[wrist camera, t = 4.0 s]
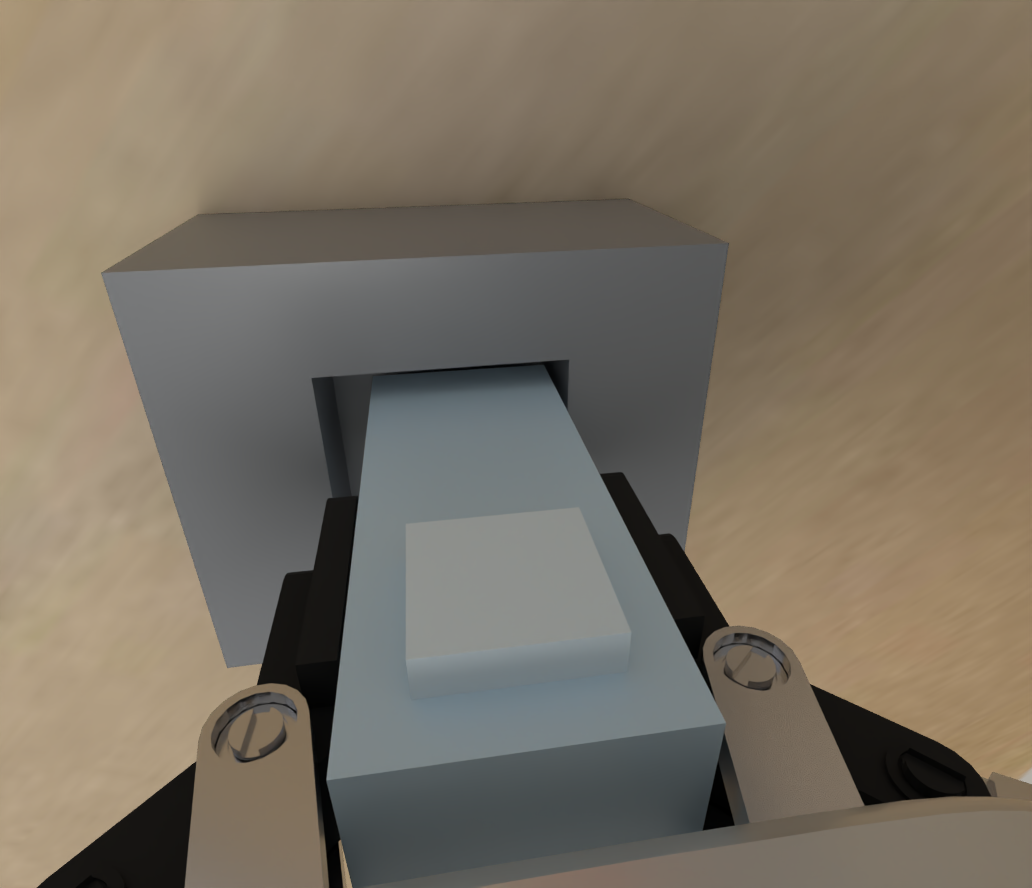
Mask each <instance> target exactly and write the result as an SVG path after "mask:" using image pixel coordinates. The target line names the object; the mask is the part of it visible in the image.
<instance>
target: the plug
mask: <svg viewBox="0 0 1032 888" xmlns="http://www.w3.org/2000/svg"><path fill="white" fill-rule="evenodd" d="M725 726H726V722H725V720H724V718H723V716H722V714H721V712H720V710H719V708H718V706H717V704H716V702H715V700H714V698H713V696H712V694H711V692H710V690H709V688H708V686H707V684H706V682H705V680H704V678H703V676H702V674H701V673H700V671H699V669H698V667H697V665H696V663H695V661H694V659H693V657H692V655H691V653H690V651H689V649H688V647H687V645H686V643H685V641H684V639H683V637H682V635H681V633H680V631H679V629H678V627H677V625H676V623H675V621H674V619H673V618H672V616H671V614H670V612H669V610H668V608H667V606H666V604H665V602H664V600H663V598H662V596H661V594H660V592H659V590H658V588H657V586H656V584H655V582H654V580H653V578H652V576H651V574H650V572H649V570H648V568H647V566H646V564H645V563H644V561H643V559H642V557H641V555H640V553H639V551H638V549H637V547H636V545H635V543H634V541H633V539H632V537H631V535H630V533H629V531H628V529H627V527H626V525H625V523H624V521H623V519H622V517H621V515H620V513H619V511H618V509H617V508H616V506H615V504H614V502H613V500H612V498H611V496H610V494H609V492H608V490H607V488H606V486H605V484H604V482H603V480H602V478H601V476H600V474H599V472H598V470H597V468H596V466H595V464H594V462H593V460H592V458H591V456H590V454H589V453H588V451H587V449H586V447H585V445H584V443H583V441H582V439H581V437H580V435H579V433H578V431H577V429H576V427H575V425H574V423H573V421H572V419H571V417H570V415H569V413H568V411H567V409H566V407H565V405H564V403H563V401H562V399H561V398H560V396H559V394H558V392H557V390H556V388H555V386H554V384H553V382H552V380H551V378H550V376H549V374H548V372H547V370H546V368H545V366H544V365H533V366H518V367H503V368H488V369H473V370H458V371H443V372H428V373H413V374H398V375H383V376H373V380H372V388H371V397H370V406H369V414H368V423H367V432H366V440H365V449H364V458H363V466H362V475H361V484H360V493H359V501H358V510H357V519H356V527H355V536H354V545H353V553H352V562H351V571H350V579H349V588H348V597H347V605H346V614H345V623H344V631H343V640H342V649H341V657H340V666H339V675H338V684H337V692H336V701H335V710H334V718H333V727H332V736H331V744H330V753H329V762H328V770H327V779H326V781H327V785H328V789H329V793H330V797H331V801H332V806H333V810H334V814H335V818H336V822H337V826H338V830H339V834H340V838H341V842H342V846H343V850H344V854H345V859H346V863H347V867H348V871H349V875H350V879H351V883H352V887H353V888H361V887H367V886H373V885H379V884H385V883H391V882H396V881H402V880H408V879H414V878H420V877H426V876H431V875H437V874H443V873H449V872H455V871H461V870H467V869H473V868H479V867H485V866H491V865H497V864H503V863H509V862H515V861H521V860H527V859H533V858H539V857H545V856H551V855H557V854H563V853H569V852H575V851H581V850H587V849H593V848H599V847H606V846H612V845H618V844H624V843H630V842H636V841H642V840H648V839H654V838H660V837H667V836H673V835H679V834H685V833H692V832H698V831H702V830H703V826H704V821H705V817H706V812H707V808H708V803H709V799H710V794H711V790H712V785H713V781H714V776H715V771H716V767H717V762H718V758H719V753H720V749H721V744H722V740H723V735H724V731H725Z"/></svg>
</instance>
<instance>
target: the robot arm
mask: <svg viewBox="0 0 1032 888" xmlns="http://www.w3.org/2000/svg"><path fill="white" fill-rule="evenodd" d="M600 476H601V478H602V480H603V482H604V484H605V486H606V488H607V490H608V492H609V494H610V496H611V498H612V500H613V502H614V504H615V506H616V508H617V509H618V511H619V513H620V515H621V517H622V519H623V521H624V523H625V525H626V527H627V529H628V531H629V533H630V535H631V537H632V539H633V541H634V543H635V545H636V547H637V549H638V551H639V553H640V555H641V557H642V559H643V561H644V563H645V564H646V566H647V568H648V570H649V572H650V574H651V576H652V578H653V580H654V582H655V584H656V586H657V588H658V590H659V592H660V594H661V596H662V598H663V600H664V602H665V604H666V606H667V608H668V610H669V612H670V614H671V616H672V618H673V619H674V621H675V623H676V625H677V627H678V629H679V631H680V633H681V635H682V637H683V639H684V641H685V643H686V645H687V647H688V649H689V651H690V653H691V655H692V657H693V659H694V661H695V663H696V665H697V667H698V669H699V671H700V673H701V674H702V676H703V678H704V680H705V682H706V684H707V686H708V688H709V690H710V692H711V694H712V696H713V698H714V700H715V702H716V704H717V706H718V708H719V710H720V712H721V714H722V716H723V718H724V720H725V722H726V726H725V731H724V735H723V740H722V744H721V749H720V753H719V758H718V762H717V767H716V771H715V776H714V781H713V785H712V790H711V794H710V799H709V803H708V808H707V812H706V817H705V821H704V826H703V830H702V831H698V832H692V833H685V834H679V835H673V836H667V837H660V838H654V839H648V840H642V841H636V842H630V843H624V844H618V845H612V846H606V847H599V848H593V849H587V850H581V851H575V852H569V853H563V854H557V855H551V856H545V857H539V858H533V859H527V860H521V861H515V862H509V863H503V864H497V865H491V866H485V867H479V868H473V869H467V870H461V871H455V872H449V873H443V874H437V875H431V876H426V877H420V878H414V879H408V880H402V881H396V882H391V883H385V884H379V885H373V886H367V887H361V888H1032V784H1029V783H1026V782H1022V781H1019V780H1016V779H1013V778H1010V777H1007V776H1004V775H1001V774H998V773H995V772H992V774H991V775H990V777H989V779H986V778H983V777H980V775H979V774H978V773H977V772H976V771H975V769H974V768H973V767H972V766H971V765H970V764H969V763H968V762H967V761H965V760H964V759H963V758H962V757H960V756H959V755H958V754H957V753H956V752H954V751H952V750H951V749H949V748H947V747H945V746H944V745H942V744H940V743H938V742H936V741H934V740H932V739H930V738H928V737H925V736H923V735H921V734H919V733H917V732H914V731H912V730H910V729H908V728H906V727H903V726H901V725H899V724H897V723H895V722H892V721H890V720H888V719H886V718H884V717H881V716H879V715H877V714H875V713H873V712H870V711H868V710H866V709H864V708H862V707H859V706H857V705H855V704H853V703H851V702H848V701H846V700H844V699H842V698H840V697H837V696H835V695H833V694H831V693H829V692H826V691H824V690H822V689H820V688H818V687H815V686H813V685H811V684H810V683H809V681H808V679H807V677H806V674H805V672H804V670H803V668H802V666H801V663H800V661H799V660H798V658H797V657H796V655H795V654H794V652H793V650H792V649H791V648H789V647H788V646H787V645H786V644H785V643H784V642H783V641H782V640H780V639H778V638H777V637H775V636H773V635H771V634H770V633H768V632H765V631H762V630H759V629H756V628H753V627H745V626H731V627H729V625H728V623H727V622H726V620H725V618H724V617H723V615H722V613H721V612H720V610H719V608H718V607H717V605H716V604H715V602H714V600H713V599H712V597H711V595H710V594H709V592H708V590H707V589H706V587H705V585H704V584H703V582H702V580H701V579H700V577H699V575H698V574H697V572H696V571H695V569H694V567H693V566H692V564H691V562H690V561H689V559H688V557H687V556H686V554H685V552H684V551H683V549H682V547H681V546H680V544H679V543H678V541H677V539H676V538H675V537H674V536H673V535H672V534H669V533H668V534H658V532H657V531H656V529H655V527H654V525H653V524H652V522H651V520H650V518H649V517H648V515H647V513H646V511H645V510H644V508H643V506H642V504H641V503H640V501H639V499H638V497H637V496H636V494H635V492H634V491H633V489H632V487H631V485H630V484H629V482H628V480H627V478H626V477H625V475H624V474H623V472H614V473H603V474H600ZM358 501H359V497H358V496H347V497H336V498H328V499H327V501H326V506H325V512H324V517H323V522H322V527H321V532H320V538H319V543H318V548H317V553H316V558H315V564H314V569H313V570H309V571H300V572H290V573H287V574H286V575H285V577H284V580H283V583H282V587H281V591H280V595H279V599H278V603H277V607H276V611H275V615H274V619H273V623H272V627H271V631H270V635H269V639H268V643H267V647H266V651H265V655H264V659H263V663H262V667H261V671H260V675H259V679H258V683H257V685H256V686H253V687H250V688H248V689H245V690H242V691H240V692H238V693H236V694H235V695H233V696H231V697H230V698H228V699H227V700H225V701H224V702H223V703H221V704H220V705H219V706H218V707H217V708H216V709H215V710H214V711H213V712H212V713H211V714H210V716H209V718H208V719H207V721H206V722H205V724H204V725H203V727H202V730H201V734H200V737H199V741H198V751H197V761H196V762H195V763H193V764H192V765H191V766H190V767H188V768H187V769H186V770H184V771H183V772H182V773H181V774H179V775H178V776H177V777H176V778H174V779H173V780H172V781H170V782H169V783H168V784H167V785H165V786H164V787H163V788H162V789H160V790H159V791H158V792H156V793H155V794H154V795H153V796H151V797H150V798H149V799H148V800H146V801H145V802H144V803H142V804H141V805H140V806H139V807H137V808H136V809H135V810H134V811H132V812H131V813H130V814H128V815H127V816H126V817H125V818H123V819H122V820H121V821H120V822H118V823H117V824H116V825H114V826H113V827H112V828H111V829H109V830H108V831H107V832H105V833H104V834H103V835H102V836H100V837H99V838H98V839H97V840H95V841H94V842H93V843H91V844H90V845H89V846H88V847H86V848H85V849H84V850H83V851H81V852H80V853H79V854H77V855H76V856H75V857H74V858H72V859H71V860H70V861H69V862H67V863H66V864H65V865H63V866H62V867H61V868H60V869H58V870H57V871H56V872H55V873H53V874H52V875H51V876H49V877H48V878H47V879H46V880H45V881H44V882H42V883H41V884H40V885H39V886H38V887H37V888H347V887H346V878H345V869H344V860H343V851H342V842H341V838H340V834H339V830H338V826H337V822H336V818H335V814H334V810H333V806H332V801H331V797H330V793H329V789H328V785H327V781H326V779H327V770H328V762H329V753H330V744H331V736H332V727H333V718H334V710H335V701H336V692H337V684H338V675H339V666H340V657H341V649H342V640H343V631H344V623H345V614H346V605H347V597H348V588H349V579H350V571H351V562H352V553H353V545H354V536H355V527H356V519H357V510H358Z"/></svg>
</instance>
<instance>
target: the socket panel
mask: <svg viewBox="0 0 1032 888" xmlns="http://www.w3.org/2000/svg"><path fill="white" fill-rule="evenodd" d="M728 245H729V243H727V242H725V241H723V240H721V239H718V238H716V237H714V236H711V235H709V234H707V233H705V232H702V231H700V230H698V229H696V228H693V227H691V226H689V225H687V224H684V223H682V222H680V221H678V220H675V219H673V218H671V217H669V216H666V215H664V214H662V213H659V212H657V211H655V210H653V209H650V208H648V207H646V206H644V205H641V204H639V203H637V202H635V201H632V200H630V199H614V200H587V201H559V202H532V203H504V204H477V205H449V206H422V207H395V208H367V209H340V210H312V211H285V212H257V213H230V214H202V215H196V216H195V217H193V218H191V219H190V220H188V221H186V222H185V223H183V224H181V225H180V226H178V227H176V228H175V229H173V230H171V231H170V232H168V233H166V234H165V235H163V236H161V237H160V238H158V239H157V240H155V241H153V242H152V243H150V244H148V245H147V246H145V247H143V248H142V249H140V250H138V251H137V252H135V253H133V254H132V255H130V256H128V257H127V258H125V259H123V260H122V261H120V262H118V263H117V264H115V265H113V266H112V267H110V268H108V269H107V270H105V271H104V272H102V273H101V274H102V277H103V280H104V283H105V286H106V290H107V293H108V296H109V299H110V302H111V305H112V308H113V311H114V315H115V318H116V321H117V324H118V327H119V330H120V333H121V337H122V340H123V343H124V346H125V349H126V352H127V355H128V358H129V362H130V365H131V368H132V371H133V374H134V377H135V380H136V384H137V387H138V390H139V393H140V396H141V399H142V402H143V405H144V409H145V412H146V415H147V418H148V421H149V424H150V427H151V430H152V434H153V437H154V440H155V443H156V446H157V449H158V452H159V456H160V459H161V462H162V465H163V468H164V471H165V474H166V477H167V481H168V484H169V487H170V490H171V493H172V496H173V499H174V503H175V506H176V509H177V512H178V515H179V518H180V521H181V524H182V528H183V531H184V534H185V537H186V540H187V543H188V546H189V550H190V553H191V556H192V559H193V562H194V565H195V568H196V571H197V575H198V578H199V581H200V584H201V587H202V590H203V593H204V597H205V600H206V603H207V606H208V609H209V612H210V615H211V618H212V622H213V625H214V628H215V631H216V634H217V637H218V640H219V643H220V647H221V650H222V653H223V656H224V659H225V662H226V665H227V668H230V667H238V666H246V665H253V664H261V663H263V659H264V655H265V651H266V647H267V643H268V639H269V635H270V631H271V627H272V623H273V619H274V615H275V611H276V607H277V603H278V599H279V595H280V591H281V587H282V583H283V580H284V577H285V575H286V574H287V573H290V572H300V571H309V570H313V569H314V564H315V558H316V553H317V548H318V543H319V538H320V532H321V527H322V522H323V517H324V512H325V506H326V501H327V499H328V498H336V497H347V496H358V497H359V493H360V484H361V475H362V466H363V458H364V449H365V440H366V432H367V423H368V414H369V406H370V397H371V388H372V380H373V376H383V375H398V374H413V373H428V372H443V371H458V370H473V369H488V368H503V367H518V366H533V365H544V366H545V368H546V370H547V372H548V374H549V376H550V378H551V380H552V382H553V384H554V386H555V388H556V390H557V392H558V394H559V396H560V398H561V399H562V401H563V403H564V405H565V407H566V409H567V411H568V413H569V415H570V417H571V419H572V421H573V423H574V425H575V427H576V429H577V431H578V433H579V435H580V437H581V439H582V441H583V443H584V445H585V447H586V449H587V451H588V453H589V454H590V456H591V458H592V460H593V462H594V464H595V466H596V468H597V470H598V472H599V474H603V473H614V472H623V474H624V475H625V477H626V478H627V480H628V482H629V484H630V485H631V487H632V489H633V491H634V492H635V494H636V496H637V497H638V499H639V501H640V503H641V504H642V506H643V508H644V510H645V511H646V513H647V515H648V517H649V518H650V520H651V522H652V524H653V525H654V527H655V529H656V531H657V532H658V534H668V533H669V534H672V535H673V536H674V537H675V538H676V539H677V541H678V543H679V544H680V546H681V547H682V549H683V551H685V544H686V537H687V530H688V523H689V516H690V509H691V502H692V495H693V488H694V481H695V474H696V467H697V460H698V454H699V447H700V440H701V433H702V426H703V419H704V412H705V405H706V398H707V391H708V384H709V377H710V370H711V363H712V356H713V349H714V342H715V336H716V329H717V322H718V315H719V308H720V301H721V294H722V287H723V280H724V273H725V266H726V259H727V252H728Z"/></svg>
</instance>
